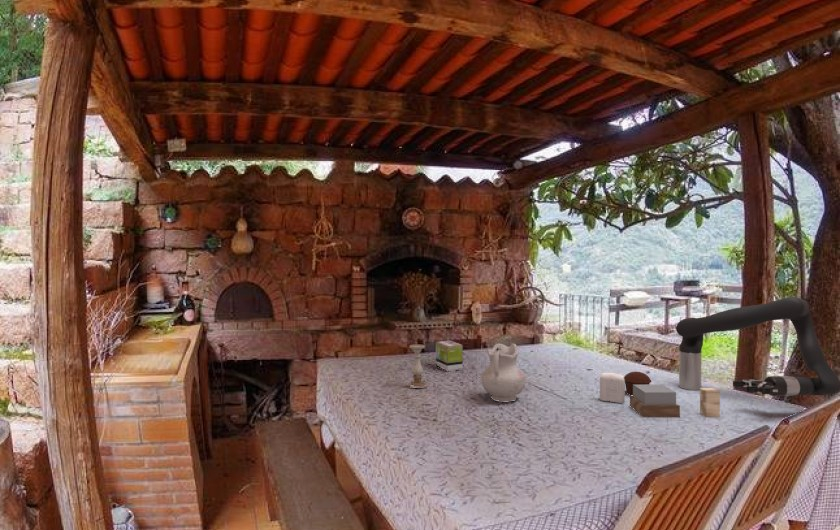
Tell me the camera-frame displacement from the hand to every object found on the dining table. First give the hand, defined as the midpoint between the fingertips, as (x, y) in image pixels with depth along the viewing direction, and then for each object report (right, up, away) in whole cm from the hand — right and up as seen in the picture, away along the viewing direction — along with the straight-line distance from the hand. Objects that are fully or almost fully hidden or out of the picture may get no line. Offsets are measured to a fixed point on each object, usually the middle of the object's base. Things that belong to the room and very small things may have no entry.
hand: (739, 386), depth 196 cm
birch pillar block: (-11, -11, +1) cm, 16 cm away
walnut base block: (-31, -12, +6) cm, 34 cm away
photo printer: (-42, -12, +20) cm, 48 cm away
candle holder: (-127, -12, +47) cm, 136 cm away
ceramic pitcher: (-89, -12, +24) cm, 93 cm away
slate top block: (-31, -7, +6) cm, 32 cm away
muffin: (-27, -11, +31) cm, 42 cm away
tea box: (-110, -11, +85) cm, 139 cm away
